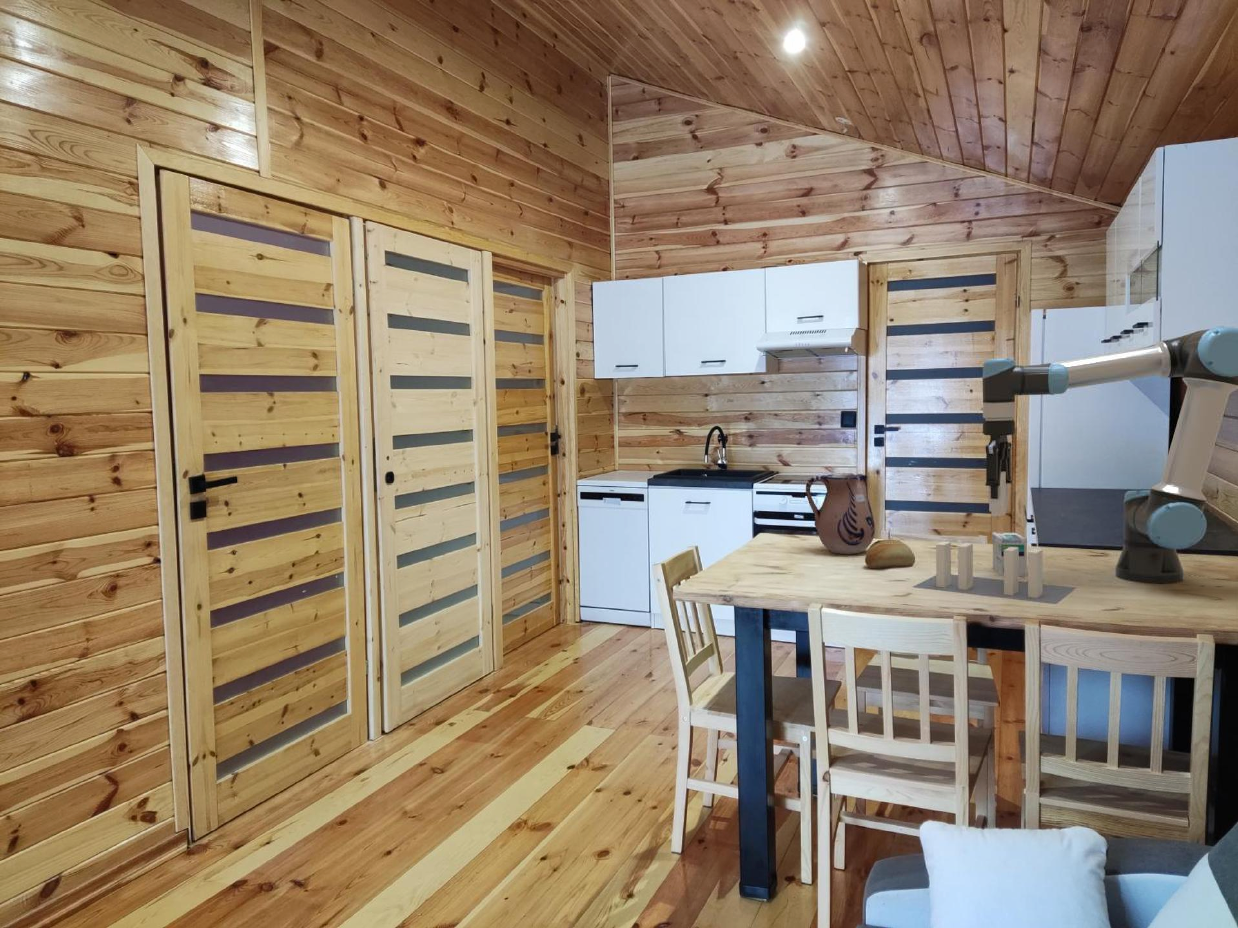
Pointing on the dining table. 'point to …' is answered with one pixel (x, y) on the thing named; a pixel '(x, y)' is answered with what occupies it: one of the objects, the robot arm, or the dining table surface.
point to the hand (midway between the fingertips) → (998, 509)
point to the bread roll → (889, 554)
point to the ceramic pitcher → (843, 513)
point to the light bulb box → (1006, 541)
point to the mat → (1000, 589)
